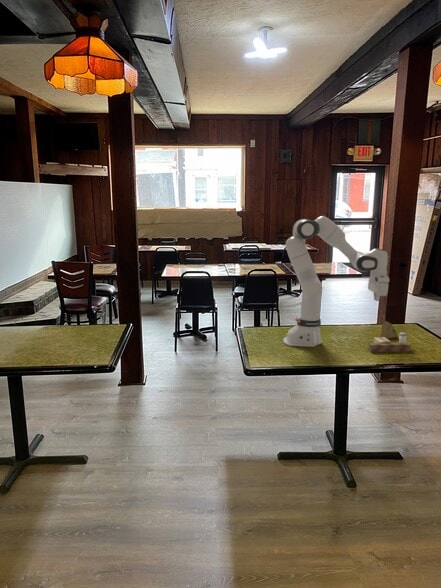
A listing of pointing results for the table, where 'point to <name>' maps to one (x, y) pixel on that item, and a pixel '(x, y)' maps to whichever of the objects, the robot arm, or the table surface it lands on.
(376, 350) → the brown wooden bar
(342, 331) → the table surface
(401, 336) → the salt shaker
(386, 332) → the rock
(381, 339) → the maple block
